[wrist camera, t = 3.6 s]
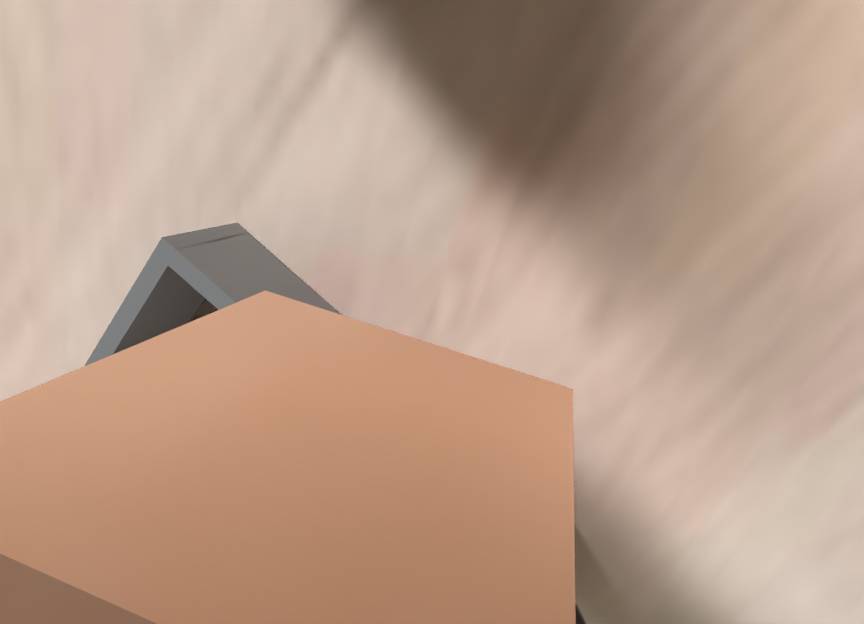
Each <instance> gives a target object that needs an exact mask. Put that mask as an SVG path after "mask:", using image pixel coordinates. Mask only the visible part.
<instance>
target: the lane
mask: <svg viewBox="0 0 864 624" xmlns="http://www.w3.org/2000/svg"><path fill="white" fill-rule="evenodd" d="M263 291H268V292H272V293H275V294H278V295H281V296H284V297H287V298H290V299H293V300H297V301H300V302H303V303H306V304H309V305H312V306H315V307H318V308H322V309H325V310H328V311H331V312H334V313H337V314H340V313H339V312H338V311H336V310H335V309H334V308H333V307H332V306H331V305H330V304H328V303H327V302H326V301H325V300H324V299H323V298H322V297H321V296H319V295H318V294H317V293H316V292H315V291H314V290H313V289H312V288H310V287H309V286H308V285H307V284H306V283H305V282H304V281H303V280H301V279H300V278H299V277H298V276H297V275H296V274H295V273H293V272H292V271H291V270H290V269H289V268H288V267H287V266H286V265H284V264H283V263H282V262H281V261H280V260H279V259H278V258H277V257H275V256H274V255H273V254H272V253H271V252H270V251H269V250H267V249H266V248H265V247H264V246H263V245H262V244H261V243H260V242H258V241H257V240H256V239H255V238H254V237H253V236H252V235H251V234H249V233H248V232H247V231H246V230H245V229H244V228H243V227H241V226H240V225H239V224H238V223H234V224H228V225H223V226H218V227H213V228H208V229H203V230H198V231H192V232H187V233H182V234H177V235H172V236H167V237H162V238H161V240H160V242H159V243H158V245H157V247H156V248H155V250H154V252H153V253H152V255H151V257H150V258H149V260H148V262H147V263H146V265H145V267H144V268H143V270H142V272H141V273H140V275H139V276H138V278H137V280H136V281H135V283H134V285H133V286H132V288H131V290H130V291H129V293H128V295H127V296H126V298H125V300H124V301H123V303H122V305H121V306H120V308H119V310H118V311H117V313H116V315H115V316H114V318H113V320H112V321H111V323H110V325H109V326H108V328H107V329H106V331H105V333H104V334H103V336H102V338H101V339H100V341H99V343H98V344H97V346H96V348H95V349H94V351H93V353H92V354H91V356H90V358H89V359H88V361H87V363H86V364H85V366H87V365H89V364H91V363H94V362H96V361H99V360H101V359H103V358H106V357H108V356H110V355H113V354H115V353H118V352H120V351H122V350H125V349H127V348H130V347H132V346H134V345H137V344H139V343H141V342H144V341H146V340H149V339H151V338H153V337H156V336H158V335H160V334H163V333H165V332H168V331H170V330H172V329H175V328H177V327H180V326H182V325H184V324H187V323H189V322H190V321H191V319H192V318H193V316H194V315H195V313H196V312H197V311H198V309H199V308H200V306H201V305H202V303H203V302H204V300H205V299H207V300H208V301H209V302H210V303H211V304H212V305H213V306H215V307H216V308H217V309H218V310H220V309H222V308H225V307H227V306H229V305H232V304H234V303H237V302H239V301H241V300H244V299H246V298H249V297H251V296H253V295H256V294H258V293H260V292H263ZM340 315H341V314H340Z"/></svg>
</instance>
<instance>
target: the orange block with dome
mask: <svg viewBox="0 0 864 624" xmlns="http://www.w3.org/2000/svg"><path fill="white" fill-rule="evenodd" d="M0 624H576V611H575V527H574V443H573V389H571V388H568V387H565V386H562V385H559V384H556V383H553V382H550V381H546V380H543V379H540V378H537V377H534V376H531V375H528V374H525V373H521V372H518V371H515V370H512V369H509V368H506V367H503V366H500V365H496V364H493V363H490V362H487V361H484V360H481V359H478V358H475V357H471V356H468V355H465V354H462V353H459V352H456V351H453V350H450V349H446V348H443V347H440V346H437V345H434V344H431V343H428V342H425V341H422V340H418V339H415V338H412V337H409V336H406V335H403V334H400V333H397V332H393V331H390V330H387V329H384V328H381V327H378V326H375V325H372V324H368V323H365V322H362V321H359V320H356V319H353V318H350V317H347V316H343V315H340V314H337V313H334V312H331V311H328V310H325V309H322V308H318V307H315V306H312V305H309V304H306V303H303V302H300V301H297V300H293V299H290V298H287V297H284V296H281V295H278V294H275V293H272V292H268V291H263V292H260V293H258V294H256V295H253V296H251V297H249V298H246V299H244V300H241V301H239V302H237V303H234V304H232V305H229V306H227V307H225V308H222V309H220V310H218V311H215V312H213V313H210V314H208V315H206V316H203V317H201V318H199V319H196V320H194V321H191V322H189V323H187V324H184V325H182V326H180V327H177V328H175V329H172V330H170V331H168V332H165V333H163V334H160V335H158V336H156V337H153V338H151V339H149V340H146V341H144V342H141V343H139V344H137V345H134V346H132V347H130V348H127V349H125V350H122V351H120V352H118V353H115V354H113V355H110V356H108V357H106V358H103V359H101V360H99V361H96V362H94V363H91V364H89V365H87V366H84V367H82V368H80V369H77V370H75V371H72V372H70V373H68V374H65V375H63V376H60V377H58V378H56V379H53V380H51V381H49V382H46V383H44V384H41V385H39V386H37V387H34V388H32V389H30V390H27V391H25V392H22V393H20V394H18V395H15V396H13V397H11V398H8V399H6V400H3V401H1V402H0Z"/></svg>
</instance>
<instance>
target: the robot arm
mask: <svg viewBox="0 0 864 624" xmlns="http://www.w3.org/2000/svg"><path fill="white" fill-rule="evenodd" d="M575 611H576V624H586V622H585V620H584V618H583V616H582V614H581V612H580V610H579V608H578V606H577V604H576V602H575Z"/></svg>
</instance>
